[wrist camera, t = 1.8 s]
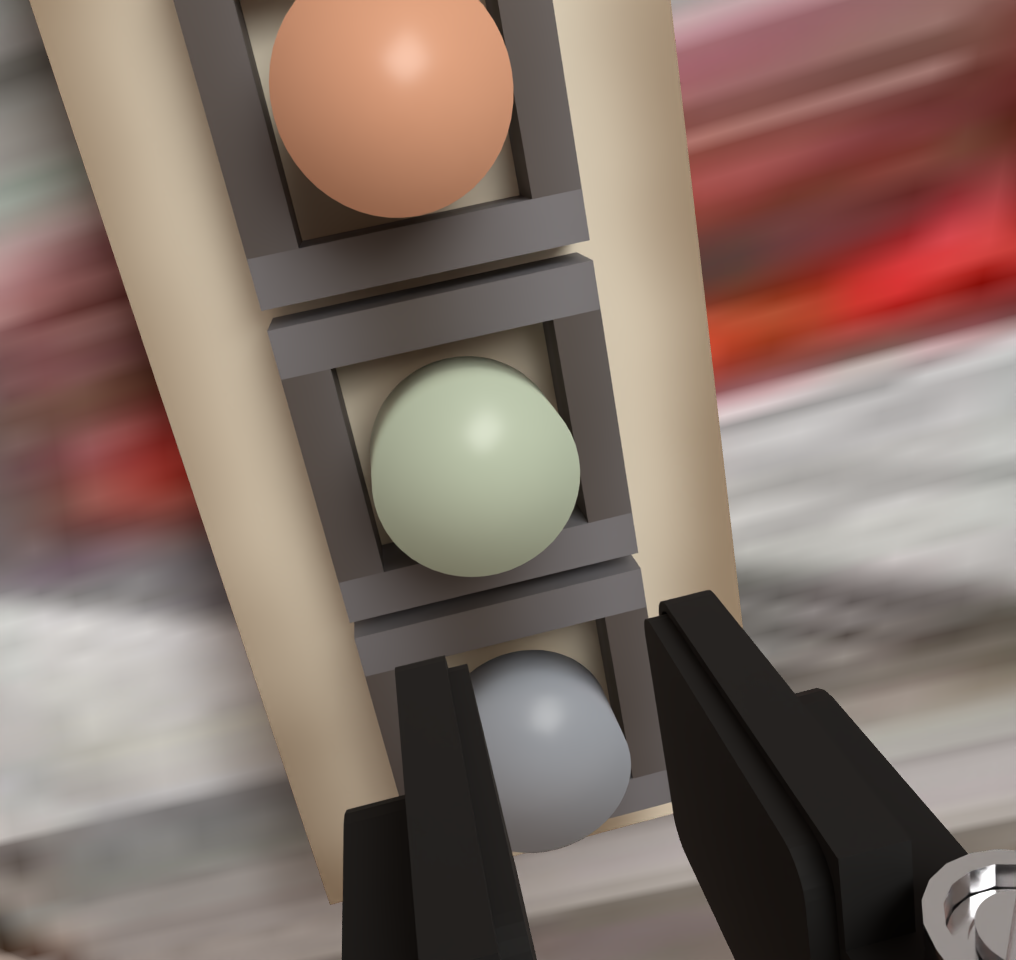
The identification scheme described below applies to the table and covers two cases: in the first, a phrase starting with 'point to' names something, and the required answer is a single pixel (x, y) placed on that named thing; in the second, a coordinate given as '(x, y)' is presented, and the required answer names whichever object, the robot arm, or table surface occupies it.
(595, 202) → the button board
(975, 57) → the table surface
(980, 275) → the table surface
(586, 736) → the button slate
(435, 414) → the button sage
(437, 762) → the robot arm
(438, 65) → the button terracotta
